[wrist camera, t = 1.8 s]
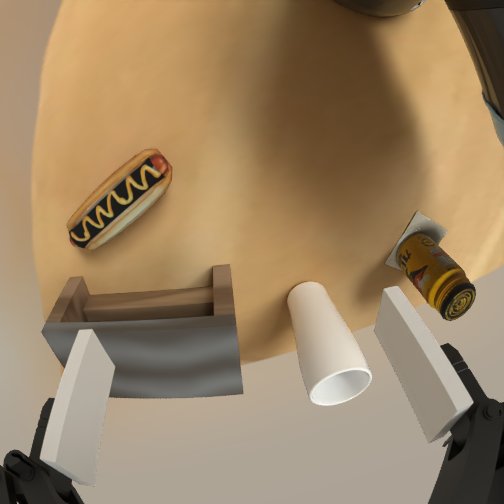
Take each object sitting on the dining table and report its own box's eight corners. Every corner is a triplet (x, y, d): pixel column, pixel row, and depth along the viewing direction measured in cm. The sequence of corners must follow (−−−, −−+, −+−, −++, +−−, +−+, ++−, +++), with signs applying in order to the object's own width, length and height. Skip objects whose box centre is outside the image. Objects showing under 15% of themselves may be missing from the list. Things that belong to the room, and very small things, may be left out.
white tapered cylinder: (307, 265, 37) (350, 359, 24) (339, 290, 40) (384, 378, 27) (270, 300, 39) (294, 398, 27) (304, 321, 42) (334, 411, 29)
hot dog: (187, 171, 30) (182, 187, 25) (101, 242, 32) (87, 266, 28) (157, 134, 27) (146, 144, 23) (73, 212, 30) (55, 233, 26)
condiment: (383, 263, 39) (428, 323, 28) (416, 210, 35) (474, 260, 25) (415, 276, 41) (458, 330, 31) (446, 229, 37) (498, 276, 27)
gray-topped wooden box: (70, 277, 34) (41, 331, 26) (230, 264, 36) (236, 324, 27) (99, 341, 40) (83, 395, 32) (236, 335, 42) (243, 393, 34)
